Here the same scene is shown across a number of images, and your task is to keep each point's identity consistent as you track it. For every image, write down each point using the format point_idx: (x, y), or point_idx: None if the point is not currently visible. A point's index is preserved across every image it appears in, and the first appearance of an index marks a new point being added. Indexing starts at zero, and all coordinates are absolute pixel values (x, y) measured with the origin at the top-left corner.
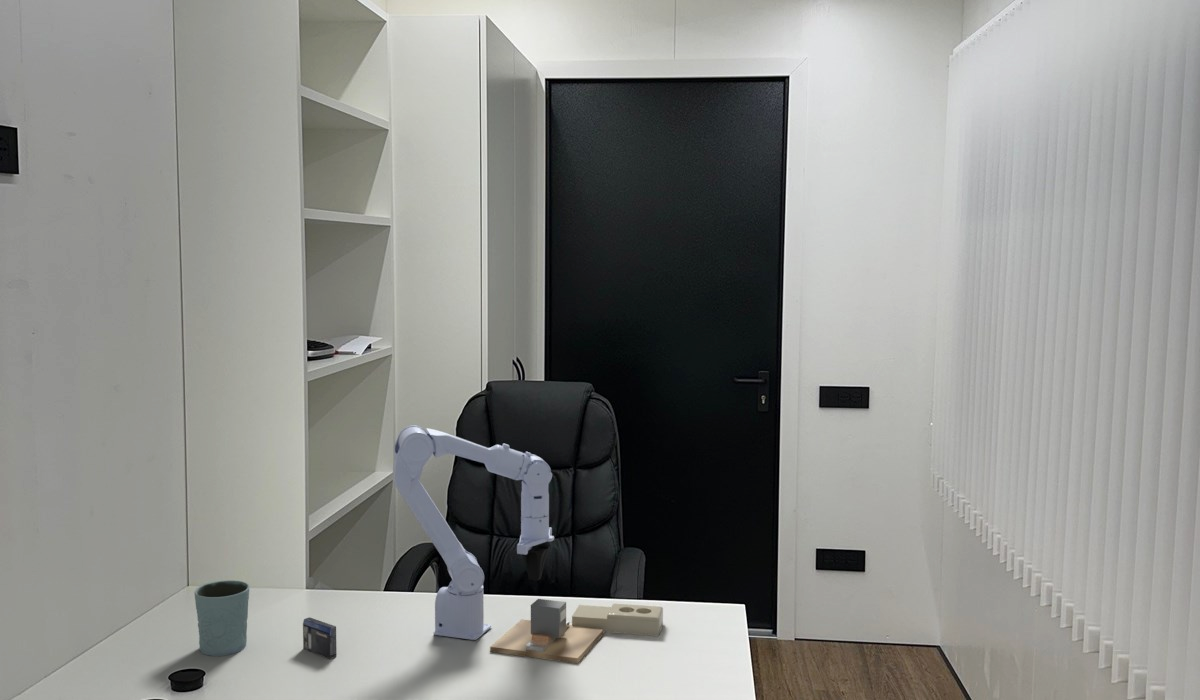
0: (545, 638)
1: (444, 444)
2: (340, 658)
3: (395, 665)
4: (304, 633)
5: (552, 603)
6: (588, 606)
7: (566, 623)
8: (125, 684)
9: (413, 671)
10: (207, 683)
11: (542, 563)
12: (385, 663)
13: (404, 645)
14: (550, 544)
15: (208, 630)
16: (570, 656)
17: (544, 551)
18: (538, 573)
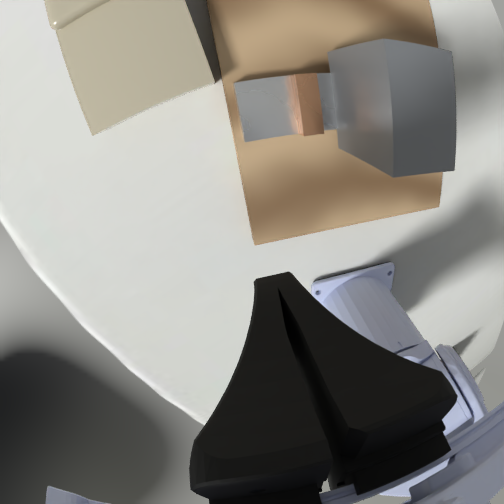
0: None
1: None
2: (453, 343)
3: (475, 288)
4: None
5: (421, 93)
6: (87, 97)
7: (259, 80)
8: (475, 381)
9: (490, 258)
10: (483, 359)
11: (287, 337)
12: (469, 301)
13: (419, 328)
14: (223, 482)
15: None
16: (428, 11)
17: (420, 395)
18: (308, 295)
